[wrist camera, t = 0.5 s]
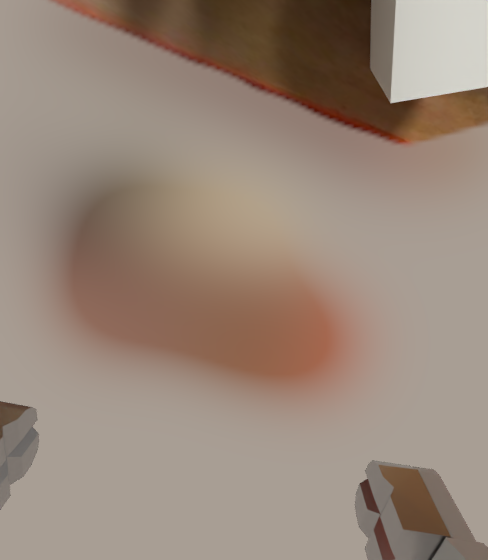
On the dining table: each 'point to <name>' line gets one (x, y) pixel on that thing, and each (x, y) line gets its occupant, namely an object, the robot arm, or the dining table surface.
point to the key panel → (428, 47)
